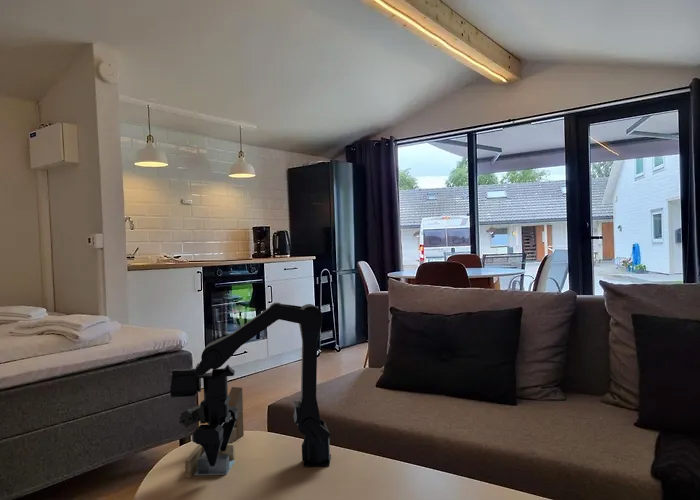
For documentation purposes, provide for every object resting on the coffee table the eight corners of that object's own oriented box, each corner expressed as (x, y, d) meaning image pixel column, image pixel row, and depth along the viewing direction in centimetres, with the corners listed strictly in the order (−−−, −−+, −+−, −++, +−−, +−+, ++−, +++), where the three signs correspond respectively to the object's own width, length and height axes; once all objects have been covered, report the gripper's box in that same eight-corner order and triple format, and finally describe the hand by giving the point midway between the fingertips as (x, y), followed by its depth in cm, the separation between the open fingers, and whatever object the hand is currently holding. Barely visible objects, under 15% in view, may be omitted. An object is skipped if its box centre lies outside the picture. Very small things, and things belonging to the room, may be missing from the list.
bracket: (198, 474, 126) (197, 459, 126) (207, 462, 133) (206, 448, 133) (226, 473, 125) (226, 459, 125) (234, 462, 132) (233, 448, 132)
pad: (235, 461, 133) (235, 460, 133) (226, 474, 125) (226, 473, 125) (204, 461, 134) (204, 461, 134) (194, 475, 126) (194, 474, 126)
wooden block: (244, 435, 152) (242, 374, 152) (223, 449, 142) (220, 383, 142) (233, 434, 153) (231, 373, 154) (211, 447, 143) (209, 382, 143)
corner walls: (234, 458, 135) (234, 443, 135) (223, 476, 124) (222, 459, 124) (199, 459, 135) (199, 444, 135) (185, 477, 124) (185, 460, 125)
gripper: (195, 385, 136) (197, 444, 136) (168, 406, 118) (171, 475, 118) (237, 384, 136) (239, 443, 136) (217, 405, 117) (219, 474, 117)
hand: (218, 458), depth 127 cm, fingers open, 9 cm apart
